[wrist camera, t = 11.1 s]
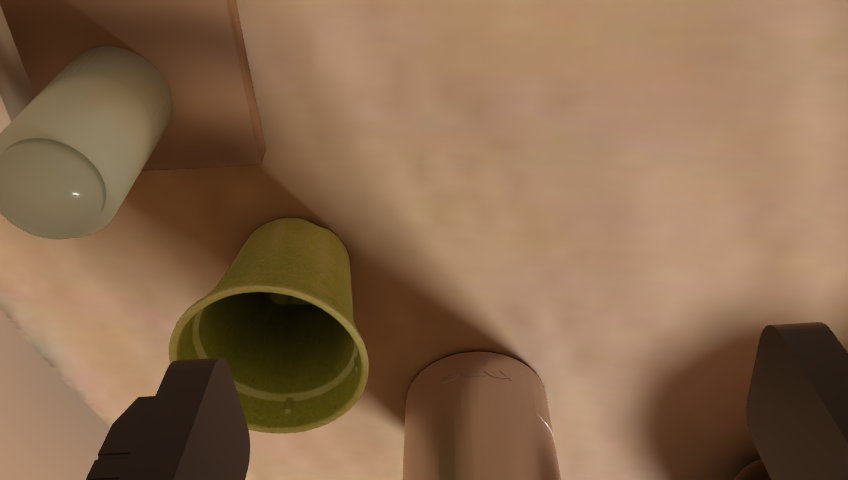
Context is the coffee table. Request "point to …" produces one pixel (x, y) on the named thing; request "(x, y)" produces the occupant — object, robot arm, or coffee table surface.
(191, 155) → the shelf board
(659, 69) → the coffee table surface
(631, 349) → the coffee table surface
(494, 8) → the coffee table surface
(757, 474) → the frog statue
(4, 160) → the sage jar
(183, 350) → the plant pot
